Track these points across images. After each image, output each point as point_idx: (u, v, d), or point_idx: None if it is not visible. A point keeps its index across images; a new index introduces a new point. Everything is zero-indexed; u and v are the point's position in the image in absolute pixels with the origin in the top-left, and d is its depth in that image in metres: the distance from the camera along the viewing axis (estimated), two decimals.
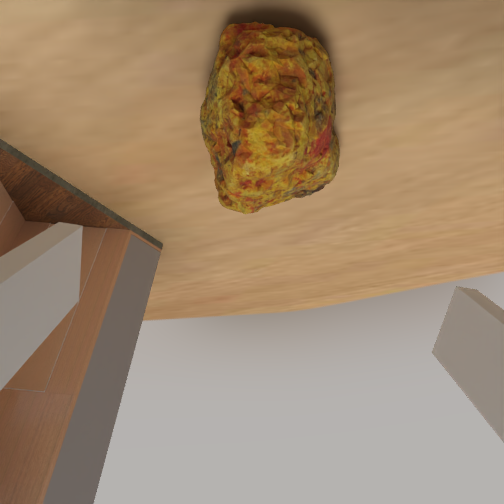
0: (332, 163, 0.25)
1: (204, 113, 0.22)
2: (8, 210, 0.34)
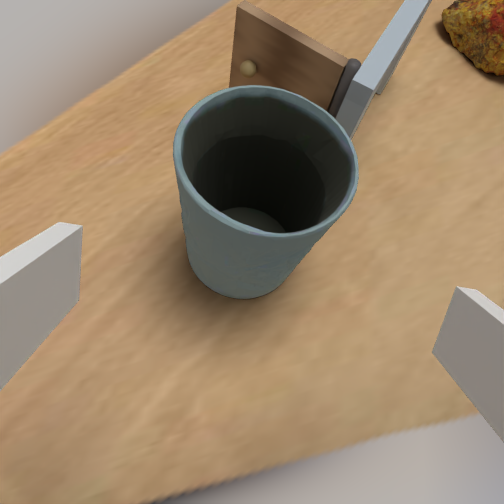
0: (469, 16, 0.44)
1: None
2: None
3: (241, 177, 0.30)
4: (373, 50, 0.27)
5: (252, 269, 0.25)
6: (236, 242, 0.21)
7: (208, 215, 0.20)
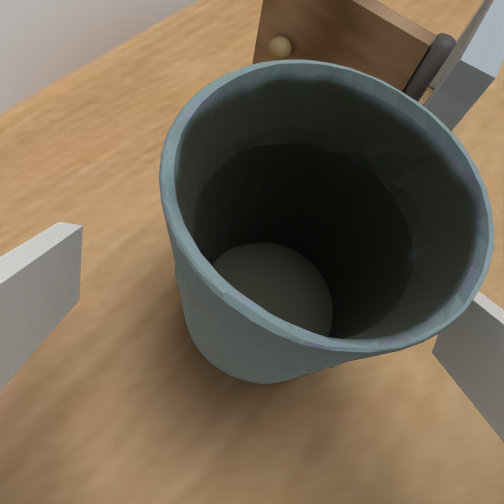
0: None
1: None
2: None
3: (268, 203, 0.20)
4: (486, 17, 0.17)
5: (287, 366, 0.15)
6: (271, 346, 0.11)
7: (220, 301, 0.10)
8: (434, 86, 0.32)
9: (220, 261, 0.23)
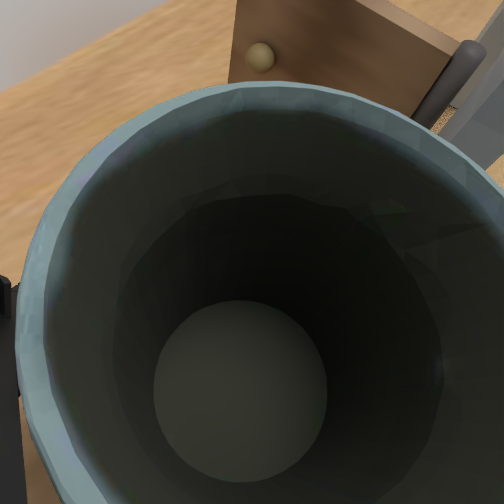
0: None
1: None
2: None
3: (241, 261, 0.16)
4: None
5: None
6: None
7: None
8: None
9: (185, 327, 0.18)
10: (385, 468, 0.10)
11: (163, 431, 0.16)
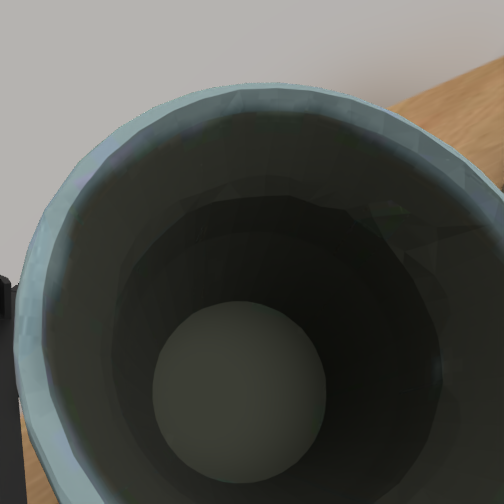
0: None
1: None
2: None
3: (240, 263, 0.16)
4: None
5: None
6: None
7: None
8: None
9: (184, 328, 0.18)
10: (383, 469, 0.10)
11: (162, 432, 0.16)
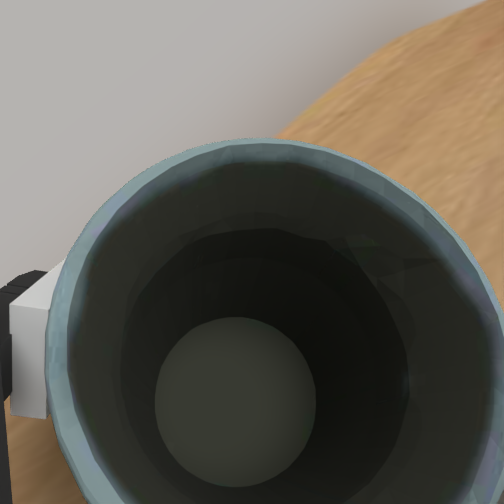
0: None
1: None
2: None
3: (235, 284, 0.17)
4: None
5: None
6: None
7: None
8: None
9: (183, 342, 0.20)
10: (359, 472, 0.12)
11: (164, 440, 0.18)
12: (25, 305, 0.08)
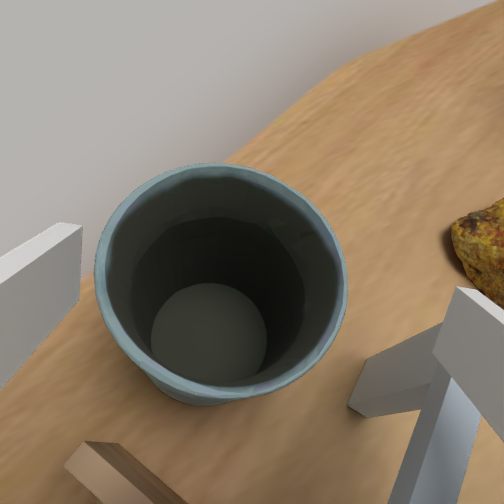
0: (494, 255, 0.29)
1: None
2: None
3: (203, 256, 0.25)
4: None
5: None
6: (182, 393, 0.15)
7: (139, 366, 0.14)
8: (353, 408, 0.26)
9: (170, 302, 0.27)
10: None
11: None
12: None
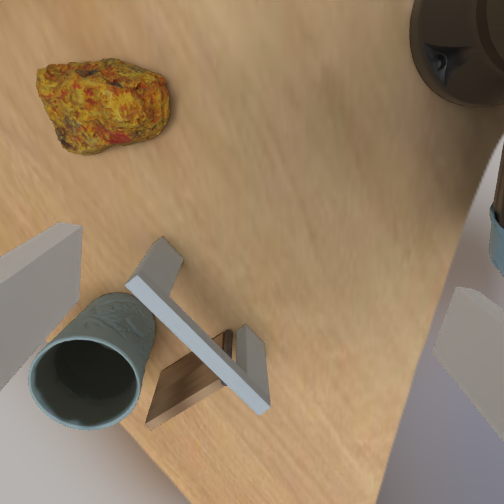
0: (94, 149, 0.39)
1: (118, 62, 0.36)
2: None
3: None
4: (236, 392, 0.38)
5: (144, 365, 0.43)
6: None
7: None
8: None
9: None
10: None
11: None
12: None
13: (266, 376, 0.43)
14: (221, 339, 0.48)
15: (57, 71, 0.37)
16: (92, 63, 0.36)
